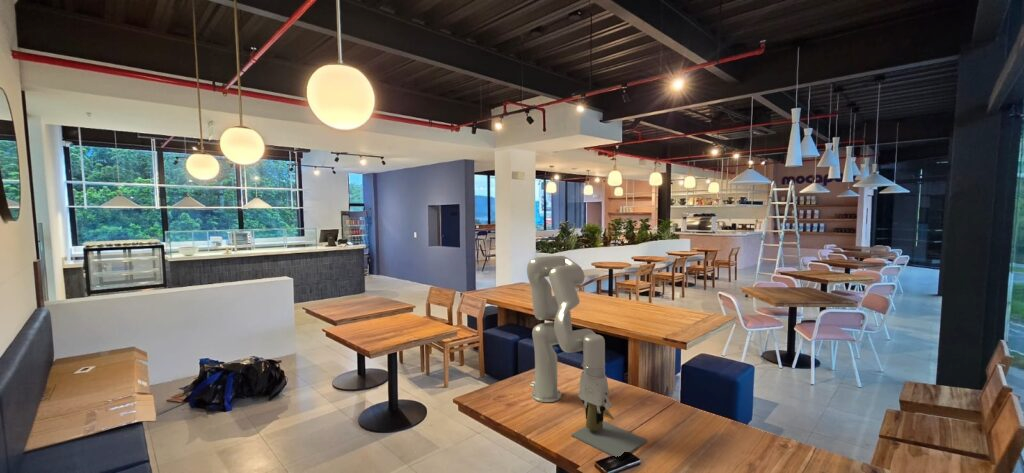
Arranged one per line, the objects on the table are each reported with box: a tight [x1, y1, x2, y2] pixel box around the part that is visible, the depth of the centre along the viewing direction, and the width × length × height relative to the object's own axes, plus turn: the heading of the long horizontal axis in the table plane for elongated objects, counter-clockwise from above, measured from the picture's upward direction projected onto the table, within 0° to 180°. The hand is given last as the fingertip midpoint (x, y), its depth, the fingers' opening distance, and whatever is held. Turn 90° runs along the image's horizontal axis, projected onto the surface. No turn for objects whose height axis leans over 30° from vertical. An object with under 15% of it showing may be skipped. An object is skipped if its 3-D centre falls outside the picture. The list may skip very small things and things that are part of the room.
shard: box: [600, 406, 613, 419], centre depth 165 cm, size 11×8×2 cm
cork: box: [585, 402, 603, 430], centre depth 150 cm, size 6×6×11 cm
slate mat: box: [570, 420, 648, 457], centre depth 146 cm, size 20×16×1 cm
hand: (594, 419), depth 151 cm, fingers closed on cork, 3 cm apart
